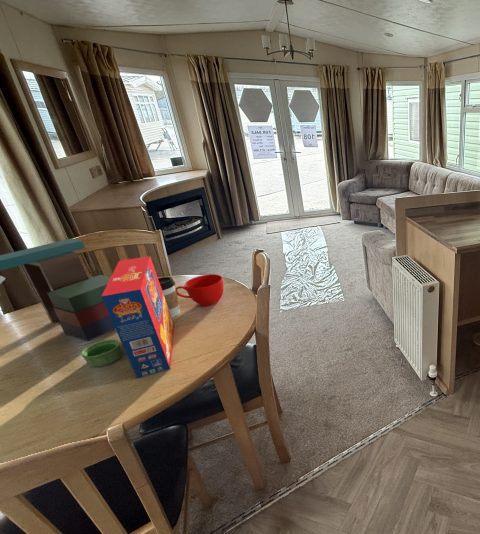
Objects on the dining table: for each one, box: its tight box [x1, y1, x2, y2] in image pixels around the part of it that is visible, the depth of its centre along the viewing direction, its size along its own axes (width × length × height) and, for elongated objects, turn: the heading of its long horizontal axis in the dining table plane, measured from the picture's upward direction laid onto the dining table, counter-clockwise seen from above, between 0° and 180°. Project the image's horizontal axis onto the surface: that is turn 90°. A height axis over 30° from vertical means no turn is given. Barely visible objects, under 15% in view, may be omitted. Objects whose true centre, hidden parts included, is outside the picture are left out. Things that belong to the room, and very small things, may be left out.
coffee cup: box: [158, 276, 181, 319], centre depth 129 cm, size 8×8×15 cm
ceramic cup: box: [175, 273, 225, 307], centre depth 139 cm, size 13×17×10 cm
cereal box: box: [102, 255, 175, 379], centre depth 107 cm, size 28×8×28 cm, turn 33°
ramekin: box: [80, 339, 123, 368], centre depth 107 cm, size 9×9×4 cm
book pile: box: [47, 274, 116, 342], centre depth 121 cm, size 12×16×16 cm
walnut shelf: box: [21, 251, 89, 324], centre depth 123 cm, size 12×10×26 cm
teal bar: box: [0, 237, 86, 272], centre depth 115 cm, size 6×22×3 cm, turn 162°
